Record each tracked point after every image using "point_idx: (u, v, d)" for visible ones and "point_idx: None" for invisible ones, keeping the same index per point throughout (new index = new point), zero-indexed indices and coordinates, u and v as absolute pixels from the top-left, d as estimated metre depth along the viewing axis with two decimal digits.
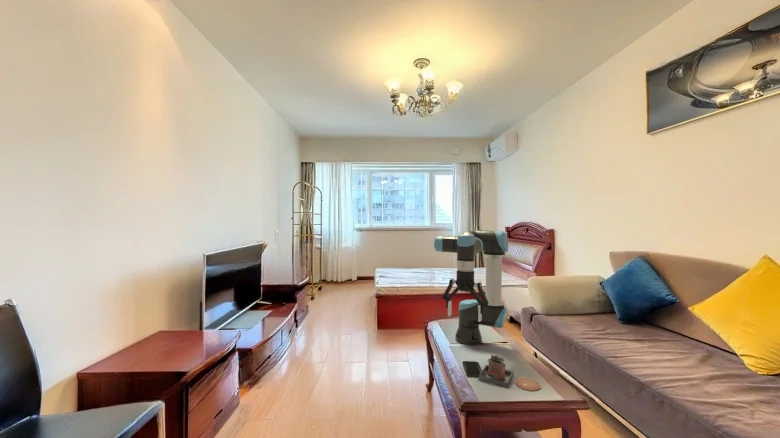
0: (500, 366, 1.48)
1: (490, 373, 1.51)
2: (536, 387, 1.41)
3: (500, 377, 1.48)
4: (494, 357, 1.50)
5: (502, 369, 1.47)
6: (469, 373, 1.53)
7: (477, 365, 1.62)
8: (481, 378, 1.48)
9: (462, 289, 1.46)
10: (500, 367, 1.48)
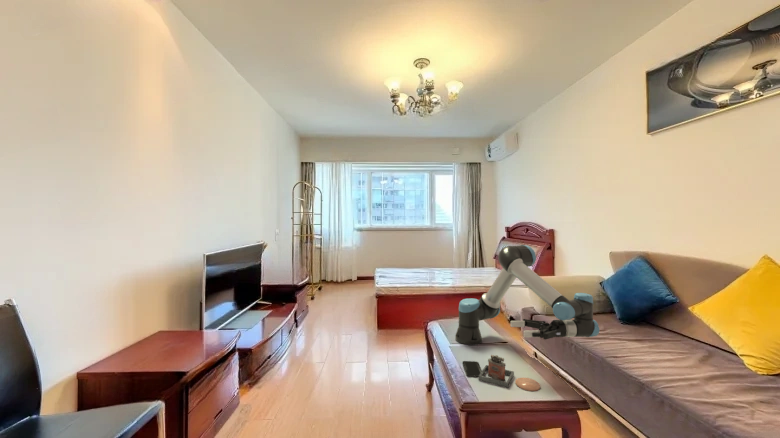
0: (500, 366, 1.48)
1: (490, 373, 1.51)
2: (536, 387, 1.41)
3: (500, 377, 1.48)
4: (494, 357, 1.50)
5: (502, 369, 1.47)
6: (469, 373, 1.53)
7: (477, 365, 1.62)
8: (481, 378, 1.48)
9: None
10: (500, 367, 1.48)
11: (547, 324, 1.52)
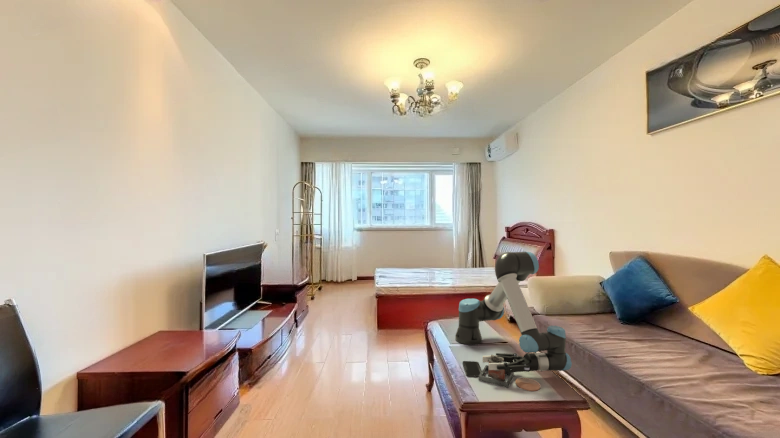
0: None
1: (490, 372, 1.51)
2: (536, 387, 1.41)
3: (500, 377, 1.48)
4: (494, 357, 1.50)
5: None
6: (469, 373, 1.53)
7: (477, 365, 1.62)
8: (481, 378, 1.48)
9: None
10: None
11: (520, 358, 1.52)
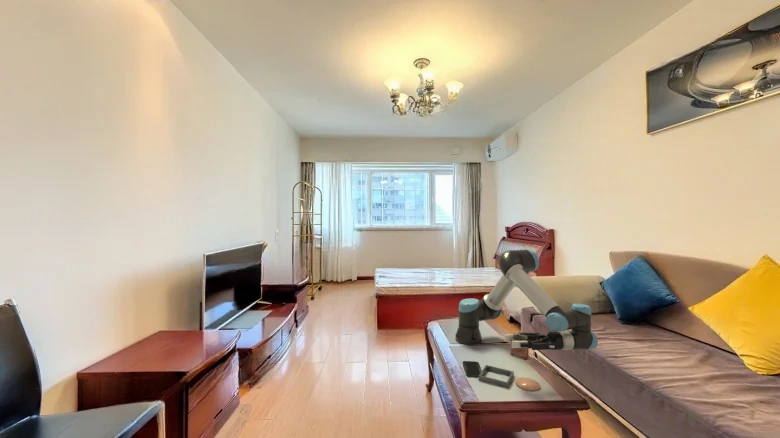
0: None
1: (512, 351, 1.47)
2: (536, 387, 1.41)
3: (523, 355, 1.43)
4: (517, 335, 1.46)
5: None
6: (469, 373, 1.53)
7: (477, 365, 1.62)
8: (481, 378, 1.48)
9: None
10: None
11: (544, 336, 1.47)
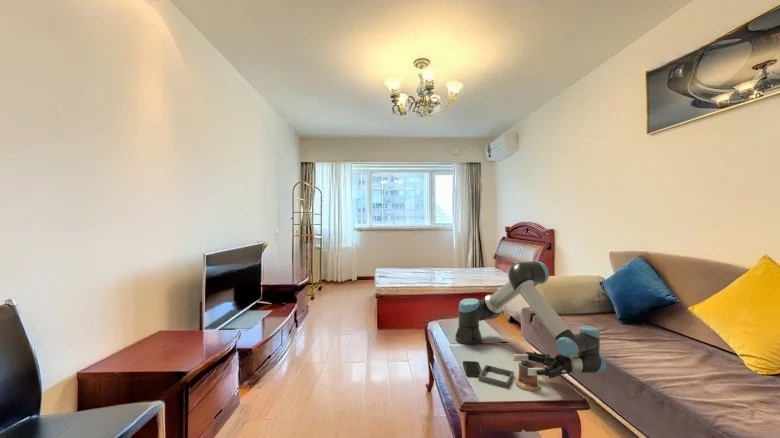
0: None
1: (520, 377, 1.46)
2: (536, 387, 1.41)
3: (532, 382, 1.42)
4: (525, 361, 1.45)
5: None
6: (469, 373, 1.53)
7: (477, 365, 1.62)
8: (481, 378, 1.48)
9: None
10: None
11: (552, 359, 1.46)
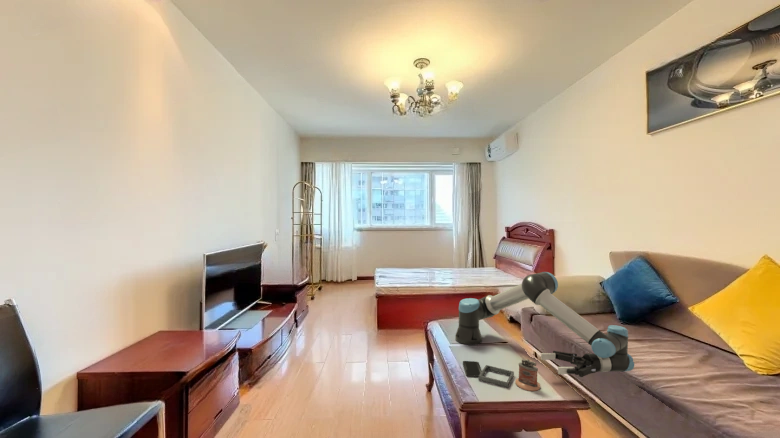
0: (532, 371, 1.42)
1: (520, 377, 1.46)
2: (536, 387, 1.41)
3: (532, 382, 1.42)
4: (525, 361, 1.45)
5: (534, 374, 1.42)
6: (469, 373, 1.53)
7: (477, 365, 1.62)
8: (481, 378, 1.48)
9: None
10: (532, 372, 1.42)
11: (580, 358, 1.47)
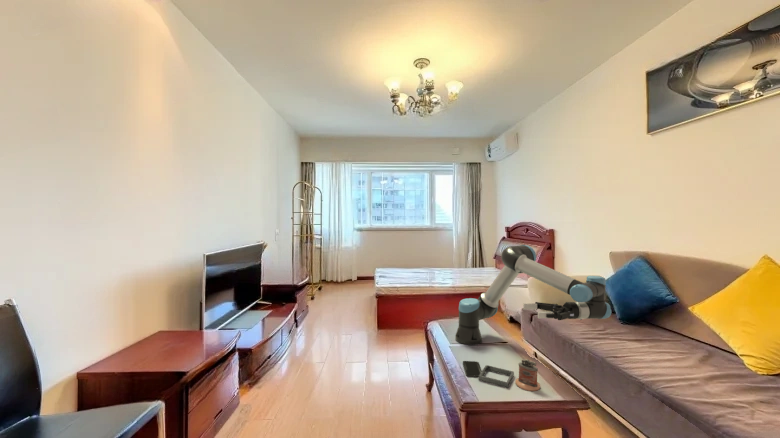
0: (532, 371, 1.42)
1: (520, 377, 1.46)
2: (536, 387, 1.41)
3: (532, 382, 1.42)
4: (525, 361, 1.45)
5: (534, 374, 1.42)
6: (469, 373, 1.53)
7: (477, 365, 1.62)
8: (481, 378, 1.48)
9: None
10: (532, 372, 1.42)
11: (560, 306, 1.54)
